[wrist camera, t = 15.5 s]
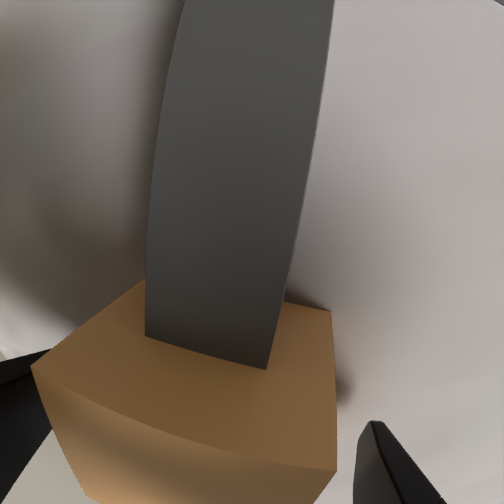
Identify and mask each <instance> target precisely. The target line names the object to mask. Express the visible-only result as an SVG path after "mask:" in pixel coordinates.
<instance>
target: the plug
mask: <svg viewBox="0 0 504 504" xmlns="http://www.w3.org/2000/svg"><path fill="white" fill-rule="evenodd" d="M334 3H335V0H185V2H184V6H183V10H182V13H181V17H180V21H179V25H178V29H177V33H176V38H175V42H174V46H173V51H172V55H171V60H170V65H169V69H168V74H167V80H166V85H165V90H164V96H163V102H162V107H161V114H160V120H159V126H158V133H157V140H156V148H155V155H154V164H153V172H152V181H151V191H150V202H149V214H148V228H147V245H146V266H145V278H144V279H143V280H141V281H140V282H139V283H137V284H136V285H135V286H133V287H132V288H131V289H129V290H128V291H126V292H125V293H124V294H122V295H121V296H120V297H118V298H117V299H116V300H114V301H113V302H112V303H110V304H109V305H108V306H106V307H105V308H104V309H102V310H101V311H100V312H99V313H97V314H96V315H95V316H93V317H92V318H91V319H89V320H88V321H87V322H85V323H84V324H83V325H82V326H80V327H79V328H78V329H76V330H75V331H74V332H73V333H71V334H70V335H69V336H67V337H66V338H65V339H64V340H62V341H61V342H60V343H58V344H57V345H56V346H55V347H53V348H52V349H51V350H50V351H48V352H47V353H46V354H45V355H43V356H42V357H41V358H40V359H38V360H37V361H36V362H35V363H34V364H32V365H31V366H30V367H31V370H32V373H33V376H34V380H35V383H36V386H37V389H38V392H39V394H40V397H41V400H42V403H43V406H44V408H45V411H46V413H47V416H48V418H49V421H50V423H51V426H52V428H53V431H54V433H55V435H56V437H57V440H58V442H59V444H60V446H61V448H62V450H63V453H64V455H65V457H66V459H67V461H68V463H69V465H70V467H71V469H72V471H73V473H74V474H75V476H76V478H77V480H78V482H79V484H80V485H81V487H82V489H83V491H84V492H85V494H86V496H88V497H90V498H92V499H93V500H95V501H98V502H99V503H101V504H313V503H314V502H315V500H316V499H317V498H318V497H319V495H320V494H321V493H322V491H323V490H324V488H325V487H326V486H327V484H328V483H329V482H330V480H331V479H332V477H333V476H334V474H335V473H336V472H337V408H336V381H335V361H334V345H333V331H332V318H331V311H326V310H321V309H316V308H311V307H306V306H301V305H297V304H292V303H287V302H283V300H284V295H285V291H286V286H287V281H288V277H289V272H290V267H291V263H292V258H293V253H294V248H295V243H296V238H297V234H298V229H299V223H300V218H301V213H302V208H303V203H304V198H305V192H306V187H307V182H308V176H309V171H310V165H311V159H312V154H313V148H314V142H315V136H316V130H317V124H318V118H319V112H320V105H321V99H322V92H323V86H324V79H325V72H326V65H327V58H328V51H329V43H330V36H331V28H332V20H333V12H334Z"/></svg>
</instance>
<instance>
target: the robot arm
mask: <svg viewBox="0 0 504 504" xmlns="http://www.w3.org/2000/svg"><path fill="white" fill-rule="evenodd" d="M50 350H51V349H48V350H44V351H40V352H37V353H33V354H29V355H25V356H21V357H17V358H13V359H10V360H6V361H2V362H0V504H1V503H2V502H3V500H4V498H5V497H6V495H7V494H8V492H9V491H10V489H11V488H12V486H13V484H14V483H15V482H16V480H17V479H18V477H19V476H20V474H21V472H22V471H23V470H24V468H25V466H26V465H27V464H28V462H29V461H30V460H31V458H32V456H33V455H34V454H35V452H36V451H37V449H38V448H39V447H40V445H41V444H42V442H43V441H44V440H45V438H46V437H47V435H48V434H49V433H50V431H51V430H52V429H53V428H52V426H51V423H50V421H49V418H48V416H47V413H46V411H45V408H44V406H43V403H42V400H41V397H40V394H39V392H38V389H37V386H36V383H35V380H34V376H33V373H32V370H31V367H30V366H31V365H32V364H34V363H35V362H36V361H37V360H38V359H40V358H41V357H42V356H43V355H45V354H46V353H47V352H48V351H50ZM353 504H447V503H446V502H445V500H444V499H443V498H441V495H440V494H439V493H438V492H437V490H436V489H435V488H434V486H433V485H432V484H431V483H430V481H429V480H428V479H427V478H426V476H425V475H424V474H423V472H422V471H421V470H420V469H419V467H418V466H417V465H416V463H415V462H414V461H413V460H412V458H411V457H410V456H409V454H408V453H407V452H406V451H405V449H404V448H403V447H402V445H401V444H400V443H399V442H398V440H397V439H396V438H395V436H394V435H393V434H392V433H391V431H390V430H389V429H388V428H387V426H386V425H385V424H384V423H383V422H382V421H373V420H372V421H369V422H368V423H367V425H366V427H365V429H364V430H363V432H362V434H361V435H360V437H359V439H358V444H357V454H356V464H355V473H354V482H353Z"/></svg>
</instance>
